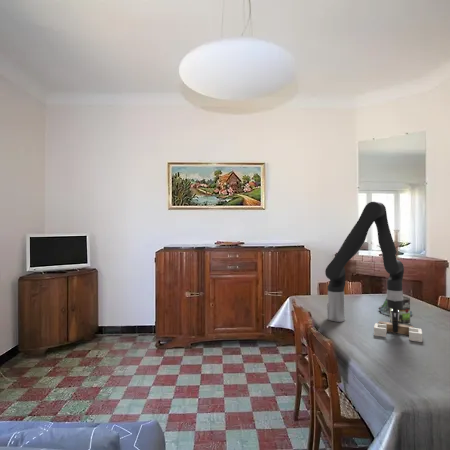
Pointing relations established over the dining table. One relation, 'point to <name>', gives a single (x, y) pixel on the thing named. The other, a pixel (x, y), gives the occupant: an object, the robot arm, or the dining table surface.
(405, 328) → the slat
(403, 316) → the coffee can
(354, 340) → the dining table surface
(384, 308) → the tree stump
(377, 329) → the end caps
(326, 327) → the dining table surface
